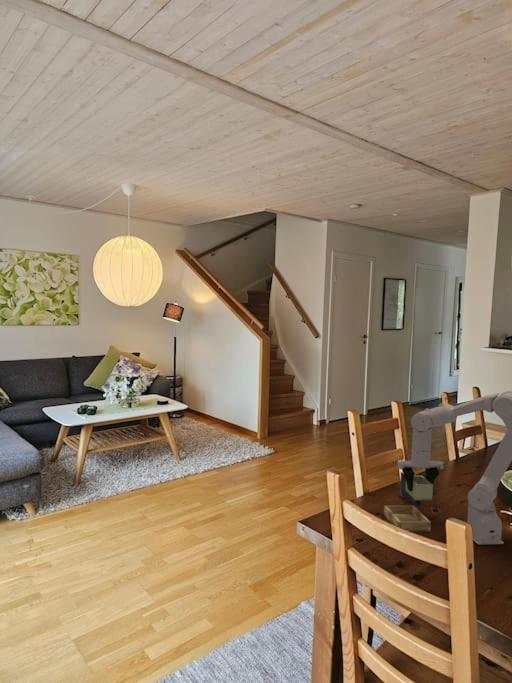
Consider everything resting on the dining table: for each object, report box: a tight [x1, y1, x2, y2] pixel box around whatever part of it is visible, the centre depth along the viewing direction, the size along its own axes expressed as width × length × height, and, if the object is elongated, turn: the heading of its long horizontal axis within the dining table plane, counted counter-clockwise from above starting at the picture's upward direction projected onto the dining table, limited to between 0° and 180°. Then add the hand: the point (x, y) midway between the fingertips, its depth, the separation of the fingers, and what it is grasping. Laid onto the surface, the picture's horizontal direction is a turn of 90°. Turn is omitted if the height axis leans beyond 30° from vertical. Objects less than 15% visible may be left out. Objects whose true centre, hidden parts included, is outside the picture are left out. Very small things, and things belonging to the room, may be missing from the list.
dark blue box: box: [399, 470, 422, 506], centre depth 160 cm, size 9×3×11 cm, turn 24°
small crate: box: [406, 475, 434, 501], centre depth 147 cm, size 8×5×5 cm
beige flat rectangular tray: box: [383, 504, 432, 533], centre depth 143 cm, size 12×10×3 cm
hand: (419, 490), depth 147 cm, fingers closed on small crate, 5 cm apart
